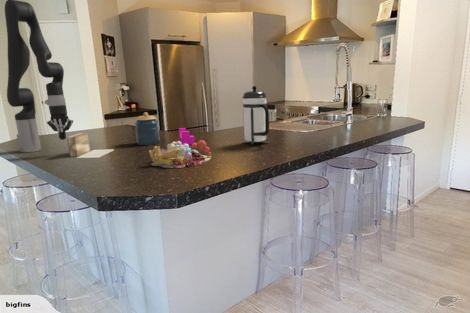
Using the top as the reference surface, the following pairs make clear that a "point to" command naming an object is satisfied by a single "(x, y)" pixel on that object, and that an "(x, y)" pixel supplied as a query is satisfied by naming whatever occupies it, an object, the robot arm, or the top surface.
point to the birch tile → (78, 144)
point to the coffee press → (255, 116)
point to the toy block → (185, 137)
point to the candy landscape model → (180, 155)
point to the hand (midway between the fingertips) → (63, 139)
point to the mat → (95, 153)
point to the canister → (147, 130)
